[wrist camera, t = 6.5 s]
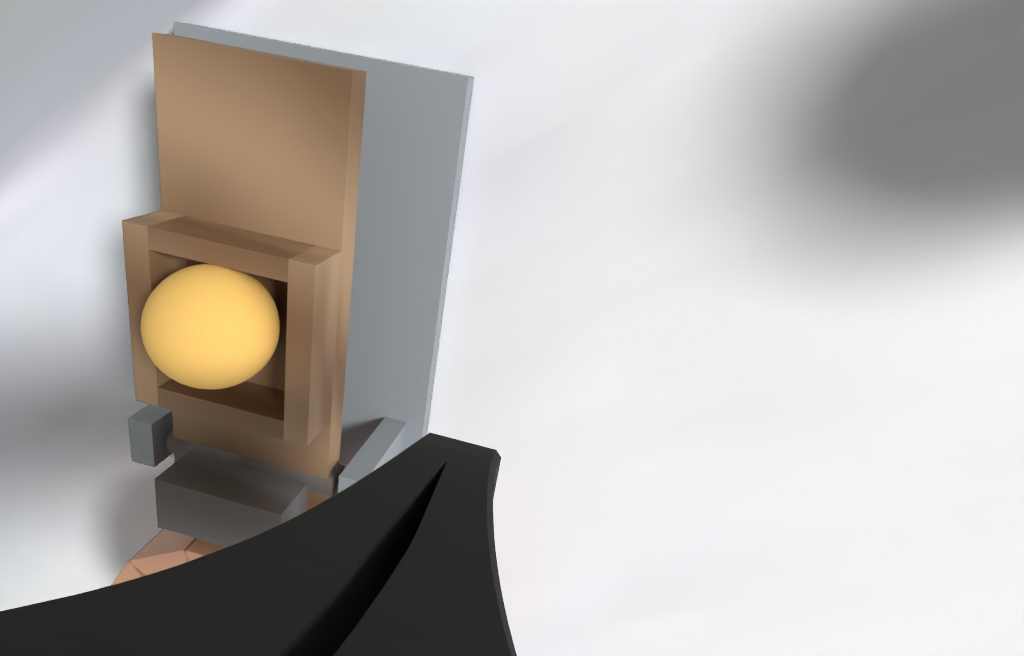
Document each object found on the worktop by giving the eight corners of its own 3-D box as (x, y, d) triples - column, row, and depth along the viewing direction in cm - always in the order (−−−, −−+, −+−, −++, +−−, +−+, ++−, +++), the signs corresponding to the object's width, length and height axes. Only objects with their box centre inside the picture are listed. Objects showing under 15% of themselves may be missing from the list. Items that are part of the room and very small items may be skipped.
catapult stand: (421, 477, 23) (376, 555, 20) (201, 418, 24) (117, 481, 21) (473, 76, 18) (426, 76, 14) (186, 23, 19) (69, 9, 15)
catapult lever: (342, 516, 21) (304, 570, 19) (189, 473, 22) (134, 520, 19) (375, 72, 15) (328, 71, 13) (170, 34, 16) (92, 26, 14)
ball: (260, 423, 16) (215, 362, 14) (150, 394, 17) (84, 328, 14) (312, 324, 18) (281, 253, 15) (211, 300, 18) (163, 225, 16)
